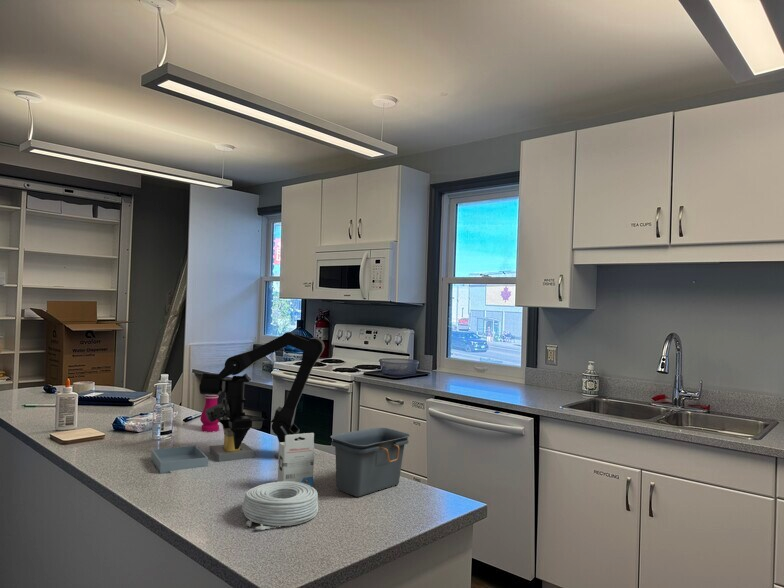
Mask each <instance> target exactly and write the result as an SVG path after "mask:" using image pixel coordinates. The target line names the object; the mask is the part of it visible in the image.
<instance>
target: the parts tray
mask: <svg viewBox="0 0 784 588" xmlns="http://www.w3.org/2000/svg"><path fill="white" fill-rule="evenodd" d="M150 451H151V452H150V461H151V462H152V463H153V465H154V466H155V469H157V471H158V473H159V474H161V475H162V474H168V473H172V471H182V470H190V469H196V468H206V467H208V466H209V457H208V456H207V455H206V454H205V453H204V452H203V450H201V449H200V448H199V446H197V445H184V446H172V447H163V448H155V449H154V448H153V449H151V450H150Z"/></svg>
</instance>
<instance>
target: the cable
mask: <svg viewBox="0 0 784 588" xmlns="http://www.w3.org/2000/svg"><path fill="white" fill-rule="evenodd" d="M241 508H242V512H243V514H244V516H245V518H246V519H247V521H246V523H245V524H246V527H247V526H251V527H252V526H253V523H256V524H259V526H255V527H254V529H253V530H254V531H255V530H262V531H266V530H265V529H269V530H271V529H270V528H274V529H276V528H275V527H279V526H285V527H291V526H295V525H300V524H304V523H307V522H308V521H310V520H313V518H314V517H316V515H317V514H318V511H319V495H318V491H317V489H315V488H314V486H313V487H311V486H309V485H307V484H304V483H300V482H293V481H281V482H278V481H273V482H268V483H263V484H262V483H261V484H260V485H257V486H255V487H252V488H250V489H249V490H247V491H246V493H245V496H244V498H243V503H242V505H241ZM248 519H249V520H248Z"/></svg>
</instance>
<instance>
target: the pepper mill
mask: <svg viewBox="0 0 784 588" xmlns="http://www.w3.org/2000/svg"><path fill="white" fill-rule="evenodd" d="M219 396H220V395H207V394H204V398H205V404H204V407H203V410H202V412H201V414H200V422H201V423H202V425H200V426H201V428H200V431H201V432H204V431H207V432H206V433H214V432H213V431H215V432H218V431H219V430H220V425H219V423H220V422H219V421H218V420H217V419H216V421H213V422H210V421H209V420H208V419H207V416H206V413H205V410H206V409H208V408H210V407H213V406H215V405H218V398H219ZM217 430H218V431H217Z"/></svg>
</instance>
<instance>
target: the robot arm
mask: <svg viewBox="0 0 784 588" xmlns="http://www.w3.org/2000/svg"><path fill="white" fill-rule="evenodd" d="M287 346H290V347H293V348H295V349H297V350H299V351H301V352H302V355H301V362H300V365H299V368H298V370H297V372H296V375H295V378H294V380H293V382H292V385H291V388H290V390H289V393H288V395H287V397H286V399H285V402H284V404H283V406H282V407H281V406H278V407H277V408H276V409H275V410H274V411H275V412H274V416H273V417H272V420H271V421H270V423H272V424H271V430H272V432H273V434H274V435H276V436H277V440H278V443H279V442H285V436H286V435H292V434H300V428H298V426H297V425H296V424H295V423H294V422H295V418H296V412H297V407H298V403H299V402H300V399H301V397H302V395H303V392H304V389H305V386H306V385H307V382H308V380H309V377H310V375H311V372H312V370H313V368H314V366H315V365H316V363H317V361H318V360H319V358H320V357H321V355H322V354H323V352H324V351H325V347H326V346H325V343H324V341H323V339H321V338H320V337H317V336H316V337H312V338H311V337H307V336H304V335H301V334H296V333H294V332H292V331H288V332H285V333H283V334H281V336H278V337H277V338H274V339H273V340H270V341H268V342H266V343H264V344H261V345H260V346H258V347H256V348H254V349H253V350H252V349H251V350H249V351H245V352H242V353H238V354H235V355H233V356H231V357H230V356H229V357H228V358H227V359H226V360H225V363H224V367H223V368H222V370H221V371H220V372H219V373H217V372H216V373H215V372H213V373H212V372H207V371H205V372H203V373H202V377H201V379H200V384H199V386H198V388H199V394H200V395H205V394H207V395H218V396H221V394H222V393H223V392H224V391H225V392H224V397H223V398H222V399H221V403H219V404H218V403H217V405H215V406H213V407H210V408H208V409H206V410H205V413H206V416H207V419H208V420H209V421H210V422H213V421H216V419H217V420H218V421H219V423H220V424H221V425H222V430H223V431H224V429H226V428H229V429H230V430H231V431H232V432H233V439H234V447H235V449H239V447H240V445H241V443H243V442H244V439H245V438H246V436H247V433H248V431H249V430H251V428H252V427H253V420H252V419H251V418H249V417H248V416H247V415H246V412H245V411H244V404H246V401H247V400H246V398H245V383H249V382H251V381H252V378H251V377H250V376H248V373H244V374H243V375H239V374H240V373H242V372H244V371H245V370H247V369H248V368H250V367H251V366H252V365H253V364H254V363H256V362H258V361H259V360H261V359H263V358H265V357H267V356H270V355H271V354H273V353H275V352H277V351H279V350H281V349H283V348H285V347H287ZM231 375H232V378H231V377H230V378H227V377H229V376H231ZM294 440H295V441H299V438H295V439H294ZM274 457H275V458H277V460H279V454H275V455H274Z"/></svg>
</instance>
